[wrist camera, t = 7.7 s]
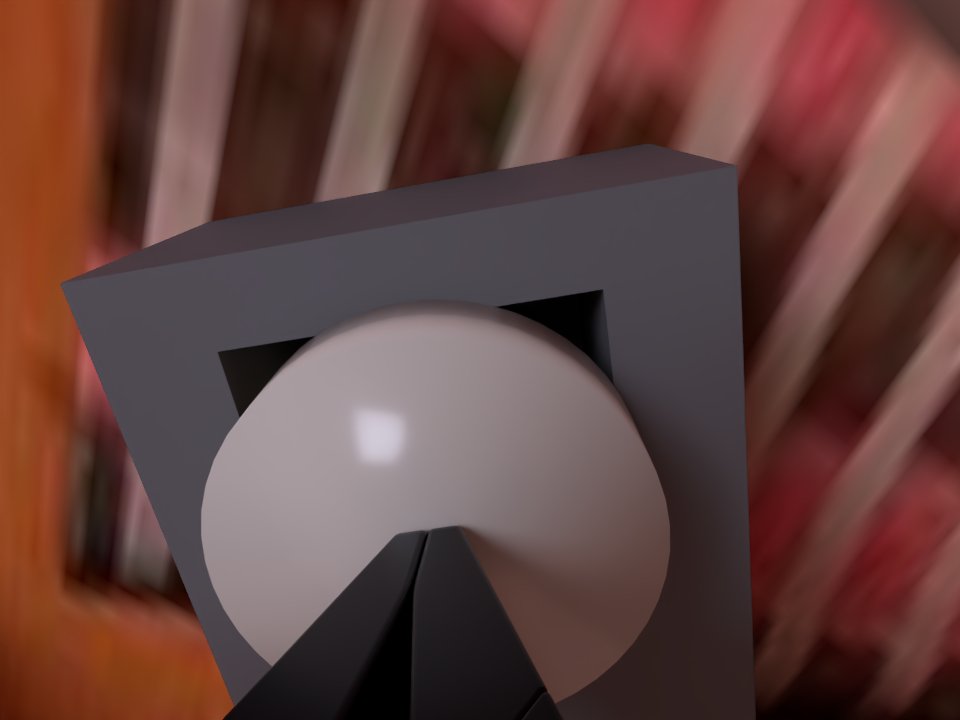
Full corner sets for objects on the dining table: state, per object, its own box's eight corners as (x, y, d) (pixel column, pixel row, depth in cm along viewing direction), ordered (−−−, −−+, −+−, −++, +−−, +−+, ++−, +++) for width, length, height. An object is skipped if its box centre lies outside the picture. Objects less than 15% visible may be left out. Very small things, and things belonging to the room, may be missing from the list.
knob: (616, 490, 14) (684, 702, 9) (350, 526, 15) (277, 747, 10) (584, 217, 12) (650, 296, 7) (276, 269, 13) (131, 379, 8)
